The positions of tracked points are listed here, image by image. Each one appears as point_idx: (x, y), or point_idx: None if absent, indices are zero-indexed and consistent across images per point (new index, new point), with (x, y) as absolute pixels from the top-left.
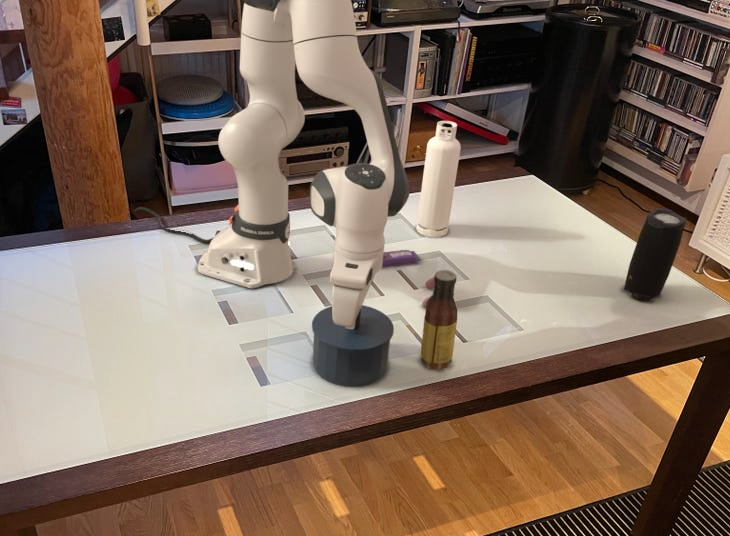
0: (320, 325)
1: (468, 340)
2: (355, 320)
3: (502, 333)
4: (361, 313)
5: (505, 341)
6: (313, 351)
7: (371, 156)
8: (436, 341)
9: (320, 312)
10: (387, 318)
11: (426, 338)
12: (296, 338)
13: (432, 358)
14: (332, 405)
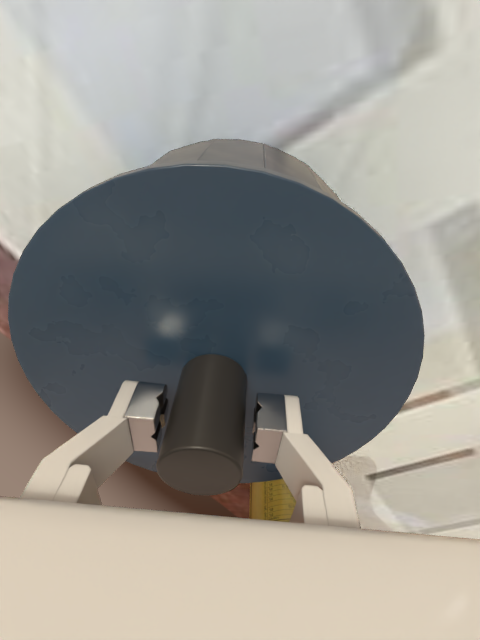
0: (154, 229)
1: (375, 481)
2: (127, 452)
3: (400, 517)
4: (327, 400)
5: (373, 518)
6: (182, 153)
7: None
8: (250, 517)
9: (312, 202)
10: None
11: (264, 500)
12: (376, 6)
13: None
14: (12, 250)
